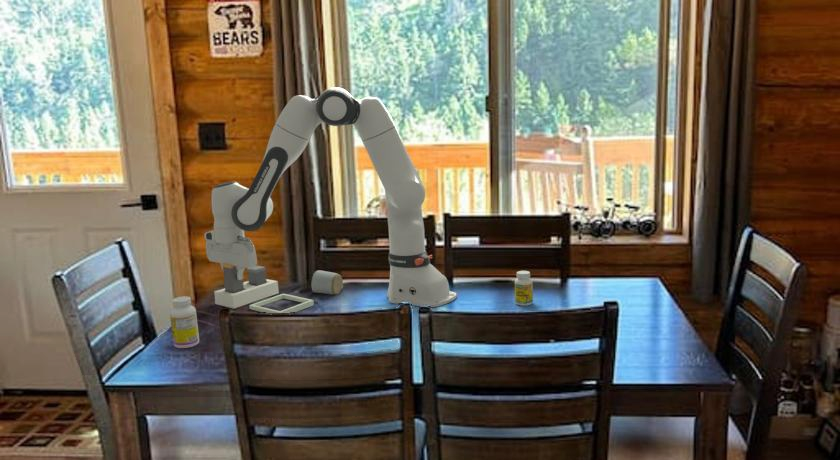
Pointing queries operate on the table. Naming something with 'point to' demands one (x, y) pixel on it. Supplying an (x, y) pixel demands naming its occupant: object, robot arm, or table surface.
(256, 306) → the white square frame
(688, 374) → the table surface
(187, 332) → the supplement bottle
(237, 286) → the grey plug
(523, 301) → the supplement bottle
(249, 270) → the twin plug
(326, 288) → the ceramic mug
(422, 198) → the robot arm
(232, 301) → the socket strip
